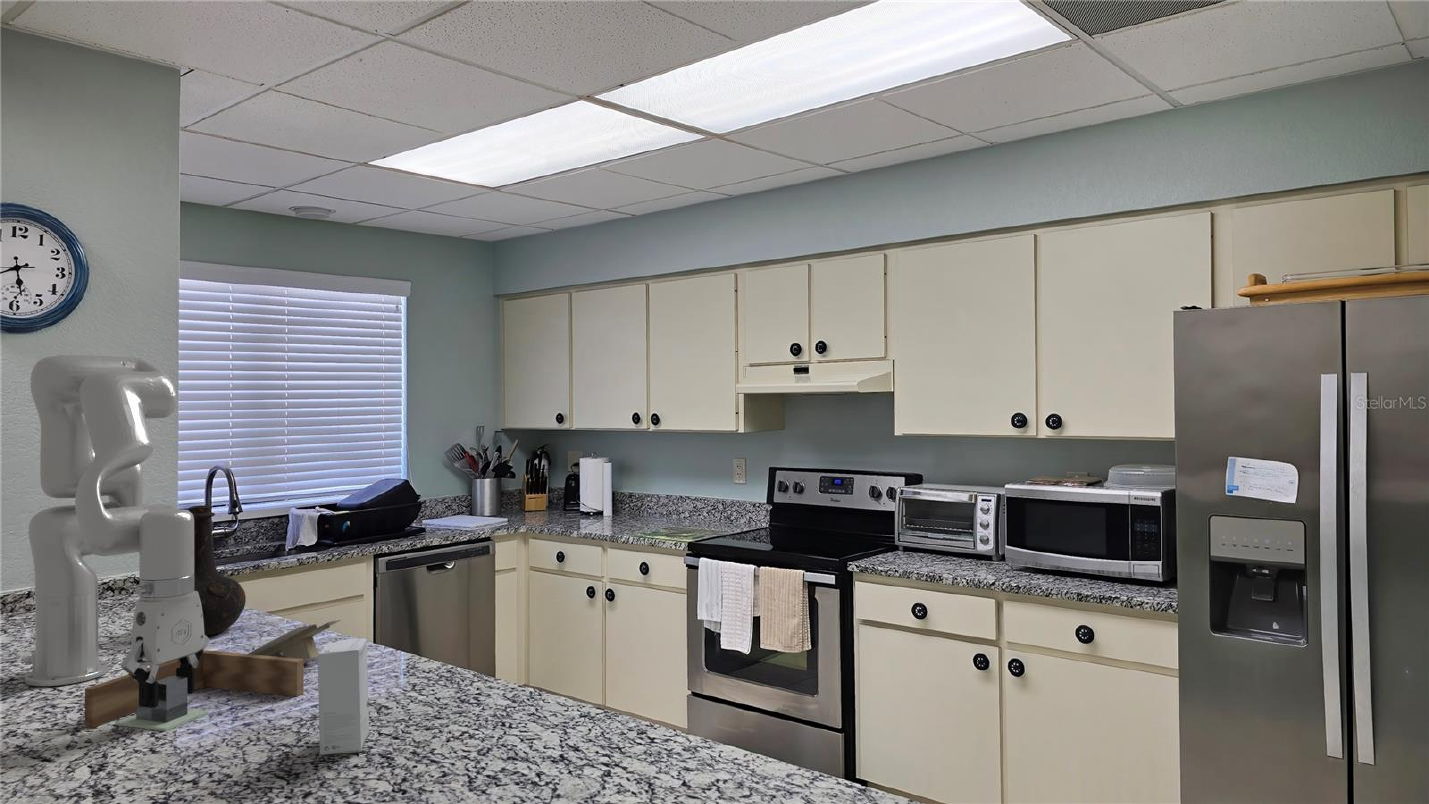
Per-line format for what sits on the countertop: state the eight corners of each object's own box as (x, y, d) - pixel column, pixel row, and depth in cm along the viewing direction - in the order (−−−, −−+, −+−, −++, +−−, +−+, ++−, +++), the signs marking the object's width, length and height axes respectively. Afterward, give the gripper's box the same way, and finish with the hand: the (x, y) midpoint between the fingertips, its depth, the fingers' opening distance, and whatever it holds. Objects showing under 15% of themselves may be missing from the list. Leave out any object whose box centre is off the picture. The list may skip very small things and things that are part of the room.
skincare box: (361, 753, 131) (361, 650, 131) (316, 756, 130) (316, 653, 130) (369, 732, 140) (369, 636, 140) (327, 735, 138) (327, 638, 138)
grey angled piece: (249, 702, 166) (311, 648, 166) (223, 664, 168) (285, 611, 168) (301, 688, 182) (357, 639, 182) (277, 653, 184) (333, 605, 184)
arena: (84, 726, 142) (84, 688, 142) (203, 683, 164) (203, 650, 164) (196, 741, 136) (196, 701, 136) (303, 693, 158) (303, 659, 158)
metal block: (166, 722, 143) (166, 684, 143) (136, 719, 144) (136, 681, 144) (187, 714, 146) (187, 677, 146) (157, 710, 148) (157, 674, 148)
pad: (115, 724, 143) (115, 722, 143) (159, 708, 150) (159, 705, 150) (166, 731, 140) (166, 728, 140) (207, 713, 148) (207, 711, 148)
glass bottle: (180, 648, 187) (179, 512, 186) (135, 636, 196) (135, 507, 196) (262, 630, 202) (262, 504, 202) (217, 619, 211) (217, 499, 211)
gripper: (138, 600, 136) (138, 720, 136) (228, 578, 152) (229, 685, 152) (99, 597, 138) (99, 715, 138) (192, 576, 154) (193, 681, 154)
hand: (167, 698), depth 145 cm, fingers open, 6 cm apart
